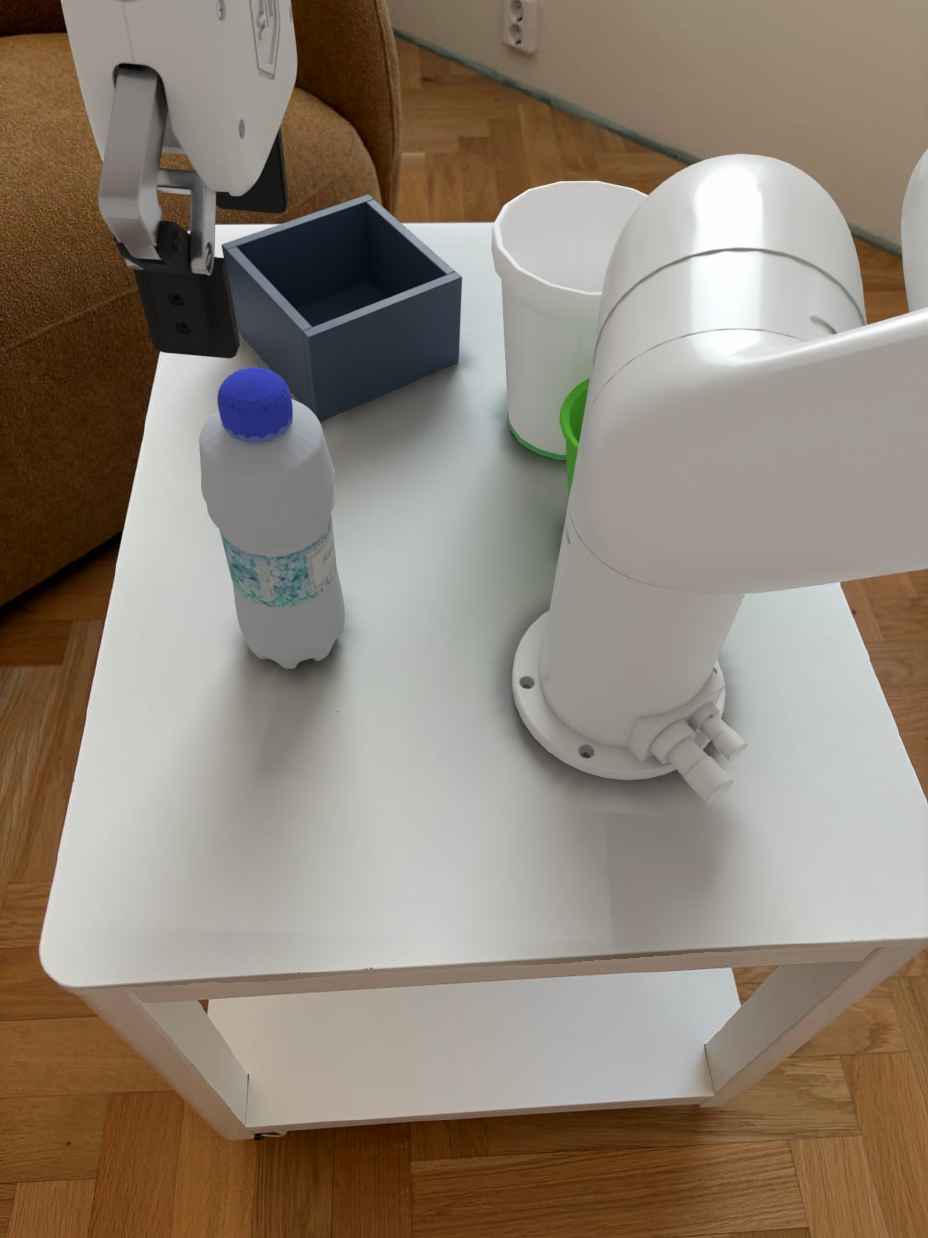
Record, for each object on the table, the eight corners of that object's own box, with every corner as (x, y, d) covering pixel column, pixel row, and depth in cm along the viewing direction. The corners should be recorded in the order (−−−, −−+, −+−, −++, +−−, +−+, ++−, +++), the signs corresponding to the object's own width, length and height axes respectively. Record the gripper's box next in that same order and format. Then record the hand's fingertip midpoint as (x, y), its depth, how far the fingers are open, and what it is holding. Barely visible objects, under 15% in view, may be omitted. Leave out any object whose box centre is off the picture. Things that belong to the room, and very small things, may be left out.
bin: (459, 362, 77) (462, 276, 71) (317, 422, 72) (308, 337, 66) (372, 279, 83) (368, 193, 77) (236, 330, 78) (220, 244, 72)
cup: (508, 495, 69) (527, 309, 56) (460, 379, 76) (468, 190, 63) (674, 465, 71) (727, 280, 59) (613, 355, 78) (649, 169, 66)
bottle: (345, 683, 59) (317, 434, 43) (232, 679, 59) (162, 427, 43) (354, 594, 63) (332, 335, 47) (249, 590, 63) (190, 329, 47)
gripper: (190, -159, 22) (277, 428, 35) (323, -341, 32) (350, 169, 46) (-149, -186, 22) (69, 409, 36) (92, -359, 32) (188, 155, 46)
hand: (227, 274), depth 41 cm, fingers open, 9 cm apart
